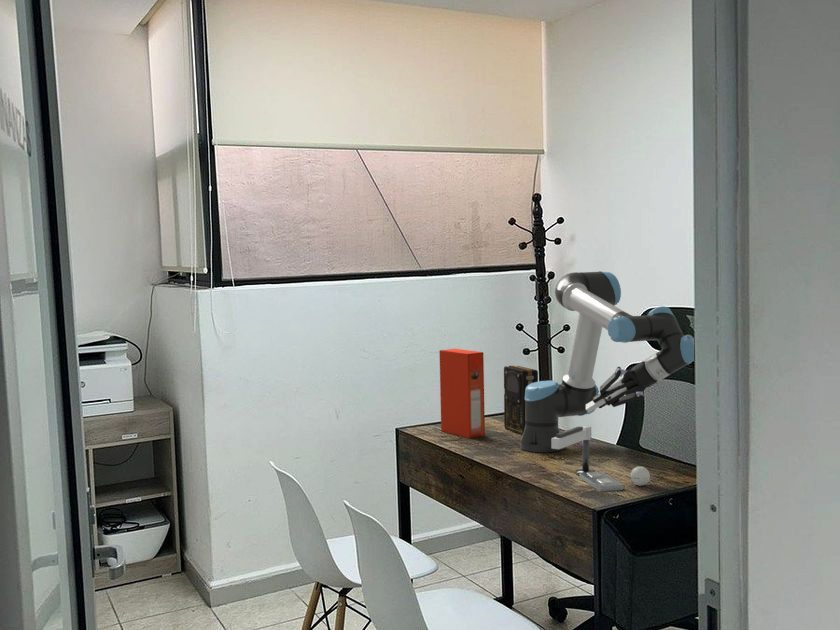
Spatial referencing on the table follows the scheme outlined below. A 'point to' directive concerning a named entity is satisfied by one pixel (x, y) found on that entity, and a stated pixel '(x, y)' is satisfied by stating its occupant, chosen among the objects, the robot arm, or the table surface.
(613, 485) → the plate
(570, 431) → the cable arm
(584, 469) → the post
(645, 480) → the white egg shape
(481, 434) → the file binder
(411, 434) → the table surface
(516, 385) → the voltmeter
